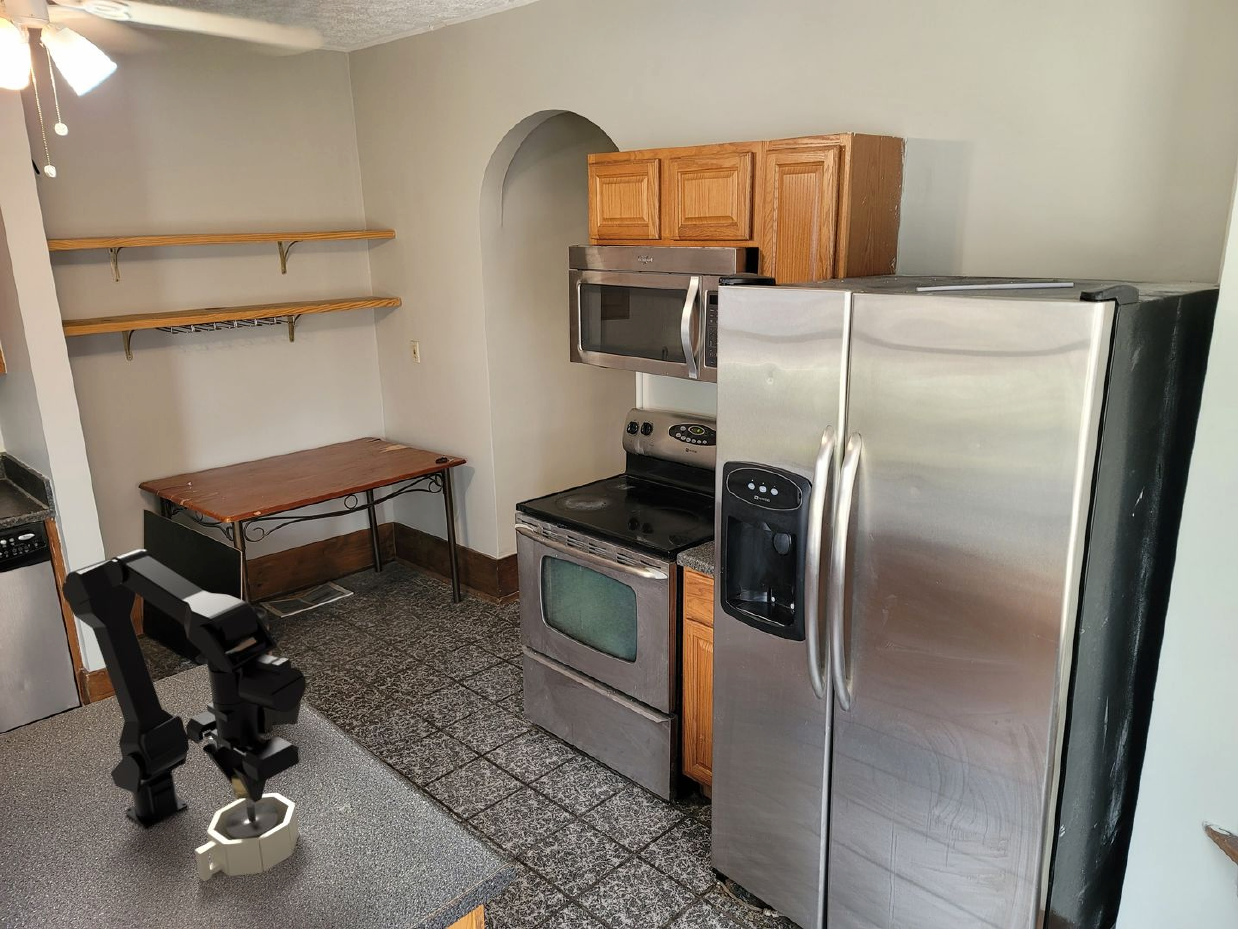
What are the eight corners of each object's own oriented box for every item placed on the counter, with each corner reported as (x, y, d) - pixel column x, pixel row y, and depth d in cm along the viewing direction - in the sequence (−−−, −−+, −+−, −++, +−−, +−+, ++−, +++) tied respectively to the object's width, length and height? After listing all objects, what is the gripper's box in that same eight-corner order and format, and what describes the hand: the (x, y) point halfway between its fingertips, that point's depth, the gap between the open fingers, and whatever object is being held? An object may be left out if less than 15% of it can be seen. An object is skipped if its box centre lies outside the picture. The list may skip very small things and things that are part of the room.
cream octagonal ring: (181, 864, 123) (176, 833, 122) (268, 814, 133) (264, 785, 132) (223, 897, 117) (218, 865, 115) (311, 842, 127) (308, 812, 126)
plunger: (215, 827, 124) (208, 778, 122) (261, 802, 130) (255, 755, 128) (243, 847, 120) (236, 796, 118) (289, 820, 126) (283, 771, 124)
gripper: (328, 690, 121) (339, 790, 125) (251, 653, 132) (263, 747, 136) (253, 725, 112) (267, 832, 116) (177, 683, 123) (192, 782, 127)
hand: (249, 795), depth 124 cm, fingers closed on plunger, 4 cm apart
